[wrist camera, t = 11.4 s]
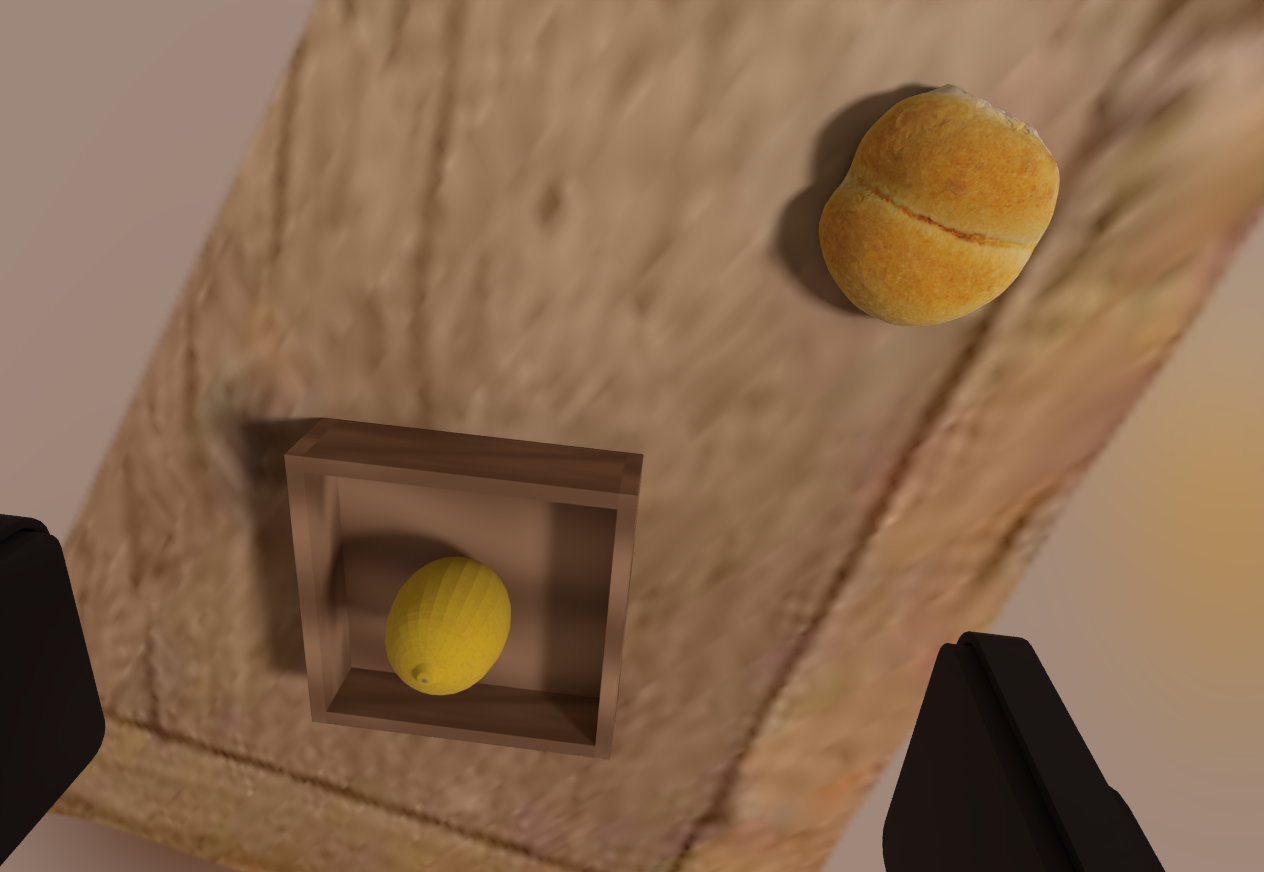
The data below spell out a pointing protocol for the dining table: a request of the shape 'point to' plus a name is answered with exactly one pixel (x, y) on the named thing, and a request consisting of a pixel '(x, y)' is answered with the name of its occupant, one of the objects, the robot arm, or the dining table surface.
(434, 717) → the bin
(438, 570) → the lemon
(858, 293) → the bread roll
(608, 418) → the dining table surface
